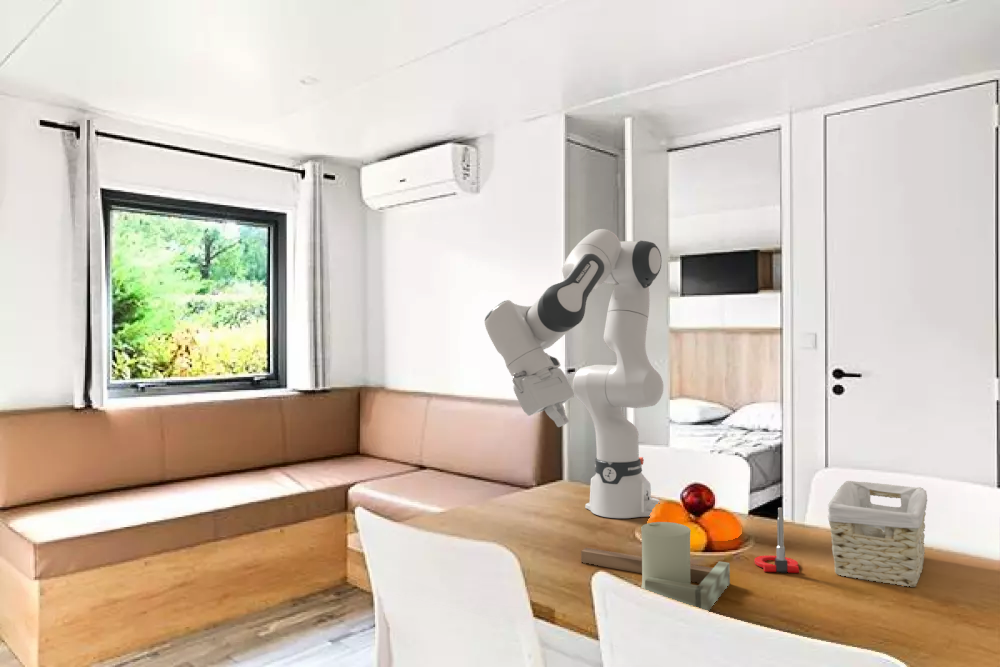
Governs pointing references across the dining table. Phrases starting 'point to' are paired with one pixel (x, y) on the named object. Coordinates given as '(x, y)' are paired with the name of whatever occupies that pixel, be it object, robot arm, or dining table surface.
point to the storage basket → (878, 533)
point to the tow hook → (778, 553)
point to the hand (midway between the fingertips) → (563, 424)
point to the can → (666, 552)
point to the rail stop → (696, 595)
